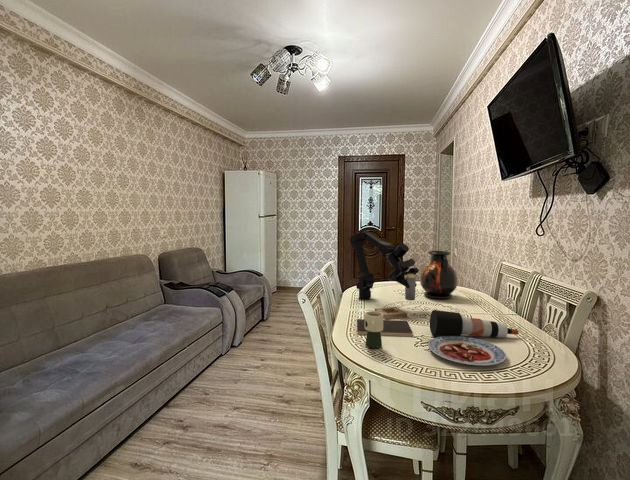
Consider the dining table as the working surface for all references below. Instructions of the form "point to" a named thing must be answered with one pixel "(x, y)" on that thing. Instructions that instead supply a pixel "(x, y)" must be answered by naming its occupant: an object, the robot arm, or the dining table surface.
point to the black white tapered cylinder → (466, 326)
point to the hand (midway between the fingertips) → (412, 287)
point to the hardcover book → (388, 328)
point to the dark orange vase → (438, 277)
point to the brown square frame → (389, 315)
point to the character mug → (373, 328)
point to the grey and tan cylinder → (411, 290)
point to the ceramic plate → (467, 350)
